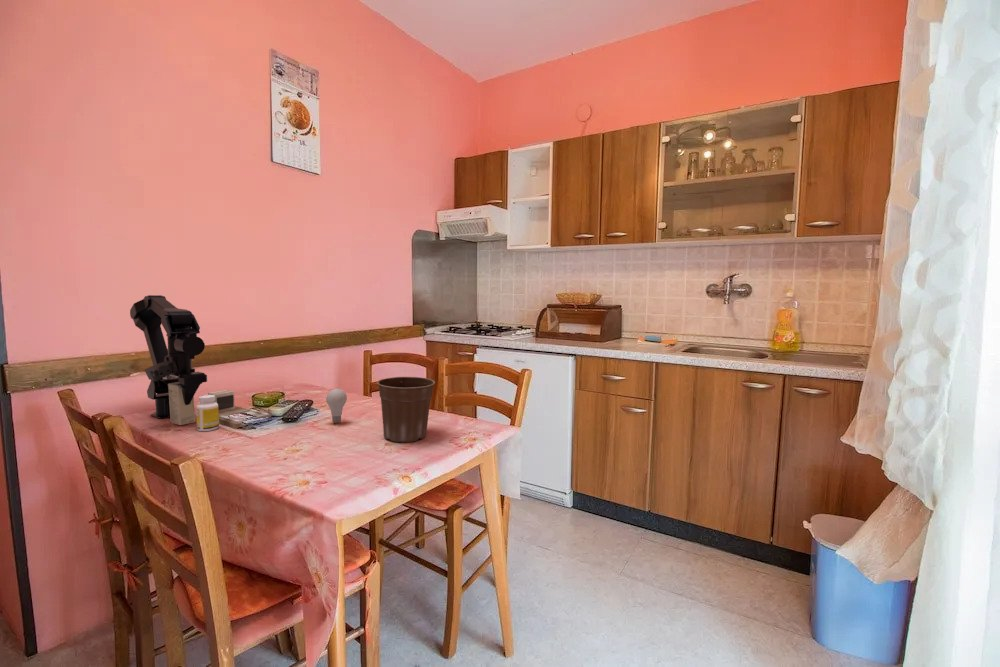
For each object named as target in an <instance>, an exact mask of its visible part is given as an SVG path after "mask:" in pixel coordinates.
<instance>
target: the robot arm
mask: <svg viewBox="0 0 1000 667" xmlns="http://www.w3.org/2000/svg"><path fill="white" fill-rule="evenodd" d="M129 310H130V311H129V316H130V319H132V321H133V323H134V326H135V327H136V328H138V329H140V331H142V332H143V334H144V337H145V341H146V346H147V348H148V353H149V354H150V359H151V363H152V365H151V366H149V367H146V368H145V369H144V372H145V374H146V377H147V378H148V380H150V382H149V384H148V387H147V390H146V392H147V398H148V399H150V400H155V402H154V403H155V412H154V413H151V414H150V416H152V417H154V418H157V419H160V420H161V419H165V418H170V404H169V388H168V384H169V383H175V382H179V384H176V385H178V386H179V387H180V388H181V389H182V393H183V398H184V403H185V405H189V404H190V402H191V400H192V398H193V397H194V396H195V394H196V393H197V391H198V389H199V388H200V386H201V384H203V383H207V382H208V375H207V374H206V373H204V372H201V371H196V368H193V365H192V363H193V362H192V360H195V358H196V357H197V356H199V355H200V354H202V353H203V351H204V350H205V348H206V347H205V346H206V345H205V344H206V343H205V342H204V340H203V339H202V338H201V337H199V336H197V335H198V334H200V332H201V331H200V328H201V327H200V324H199V323H198V321H197V319H196V316H195V315H194V314H193V313H192V311H190V310H188V309H184V308H178V307H177V306H175V305H174V304H173V303H171V302H170V301H168V299H167V298H166V296H165V295H164V296H163V295H161V294H160V295H156V294H155V295H154V294H153V295H152V294H148V295H145V296H144V297H143V299H141V300H139V301H136V302H134V303H133V305H132V306H131V308H130V309H129ZM161 325H162V326H161ZM162 327H163V329H164V331H165V333H166V337H167V339H166V340H167V344H166V340H165V337H164V334H163V330H162ZM195 356H196V357H195ZM194 398H195V397H194Z"/></svg>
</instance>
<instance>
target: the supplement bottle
mask: <svg viewBox="0 0 1000 667" xmlns="http://www.w3.org/2000/svg"><path fill="white" fill-rule="evenodd" d="M214 401H215V395H208V394H205V395H200V396H199V397H198V404H196V408H195V409H196V412H197V413H196V429H197V431H198V432H211V431H215V430H217V429H218V428H220V424H219V412H218V404H217V403H216V402H214Z"/></svg>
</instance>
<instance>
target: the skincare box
mask: <svg viewBox="0 0 1000 667" xmlns="http://www.w3.org/2000/svg"><path fill="white" fill-rule="evenodd" d="M176 384H179V382H175V383H169V384H168V388H169V404H170V417H169V418H170V419H169V421H170V423H171V424H174V425H179V426H182V425H183V426H184V425H188V424H192V423H193V424H194V423H195V422H196V414H195V397H193V398H192V400H191V402H190V404H189V405H185V403H184V398H183V393H182V389H181V388H180V387H179V386H178V385H176Z"/></svg>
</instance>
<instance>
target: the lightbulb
mask: <svg viewBox="0 0 1000 667" xmlns="http://www.w3.org/2000/svg"><path fill="white" fill-rule="evenodd" d="M347 396H348V395H347V394H346V392H345V390H343V389H341V388H333V389H331V390H329V391H328V392H327V394H326V396H325V401H326V404H327V405H328V407H329V409H330V415H331V420H332V423H335V424H339V423H340V422H341V421H342V414H343V409H344V407H345V405H346V403H347V400H348V397H347Z"/></svg>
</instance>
